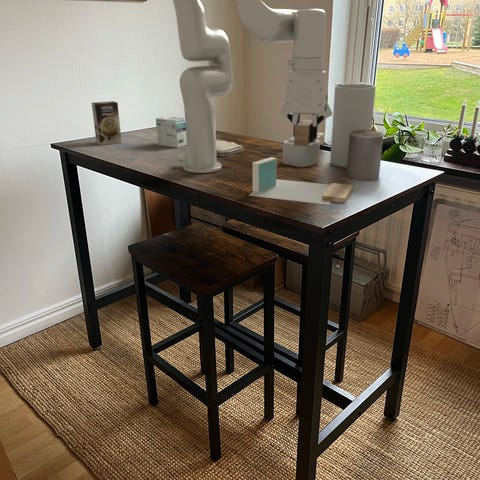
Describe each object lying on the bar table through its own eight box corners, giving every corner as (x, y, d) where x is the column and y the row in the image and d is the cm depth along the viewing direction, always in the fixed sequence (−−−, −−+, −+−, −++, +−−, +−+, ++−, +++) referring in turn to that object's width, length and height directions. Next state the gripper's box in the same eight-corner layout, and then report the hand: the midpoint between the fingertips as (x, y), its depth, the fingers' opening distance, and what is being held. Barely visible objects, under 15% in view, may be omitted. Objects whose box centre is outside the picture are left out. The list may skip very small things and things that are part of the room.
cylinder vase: (344, 170, 152) (350, 89, 142) (322, 161, 163) (327, 85, 153) (375, 166, 157) (384, 86, 147) (353, 157, 167) (359, 83, 157)
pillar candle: (343, 174, 149) (347, 125, 142) (375, 173, 148) (380, 125, 142) (349, 183, 140) (353, 132, 134) (382, 183, 139) (388, 132, 133)
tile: (252, 190, 132) (252, 162, 129) (270, 184, 138) (271, 157, 134) (258, 192, 131) (258, 163, 128) (276, 185, 136) (276, 158, 133)
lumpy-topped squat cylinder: (278, 162, 163) (279, 137, 159) (302, 155, 171) (303, 131, 168) (302, 168, 156) (303, 141, 153) (325, 160, 164) (327, 135, 161)
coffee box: (100, 145, 190) (94, 104, 184) (96, 142, 196) (90, 102, 189) (122, 142, 195) (117, 102, 188) (117, 140, 200) (113, 100, 193)
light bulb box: (188, 144, 190) (187, 117, 186) (178, 148, 185) (176, 120, 180) (168, 142, 195) (166, 115, 191) (157, 145, 190) (154, 117, 186)
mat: (248, 197, 129) (248, 195, 129) (268, 180, 143) (268, 178, 143) (328, 206, 121) (328, 204, 121) (341, 187, 136) (341, 185, 135)
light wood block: (311, 147, 119) (311, 126, 117) (289, 145, 121) (290, 125, 119) (324, 134, 130) (325, 116, 128) (304, 133, 132) (305, 115, 130)
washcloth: (225, 158, 171) (224, 149, 170) (190, 151, 182) (190, 143, 181) (246, 152, 179) (246, 144, 178) (212, 145, 190) (212, 138, 189)
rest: (321, 202, 125) (322, 195, 124) (331, 189, 135) (331, 182, 134) (344, 204, 123) (345, 198, 122) (352, 191, 133) (353, 185, 132)
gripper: (271, 66, 115) (270, 141, 123) (338, 66, 110) (333, 146, 117) (280, 64, 122) (279, 135, 129) (345, 64, 116) (339, 140, 123)
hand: (305, 140), depth 123 cm, fingers closed on light wood block, 3 cm apart
